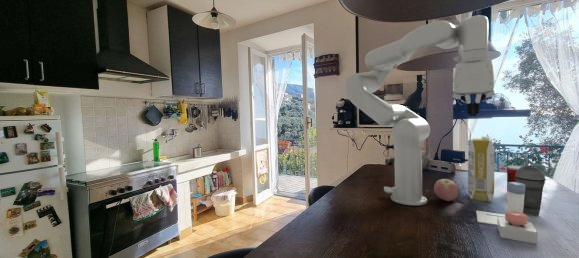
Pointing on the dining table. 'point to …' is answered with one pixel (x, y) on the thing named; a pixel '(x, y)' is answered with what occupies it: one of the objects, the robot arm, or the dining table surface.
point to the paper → (488, 217)
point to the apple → (446, 189)
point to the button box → (517, 231)
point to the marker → (515, 197)
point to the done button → (516, 218)
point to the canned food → (511, 174)
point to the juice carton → (481, 169)
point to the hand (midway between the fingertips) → (472, 116)
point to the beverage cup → (531, 187)
